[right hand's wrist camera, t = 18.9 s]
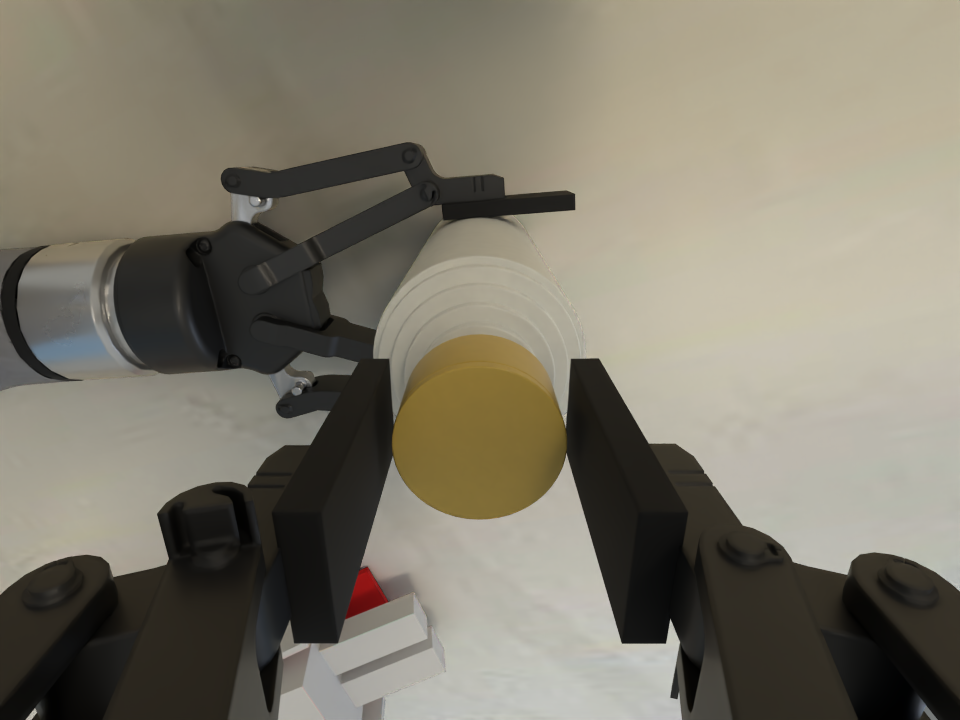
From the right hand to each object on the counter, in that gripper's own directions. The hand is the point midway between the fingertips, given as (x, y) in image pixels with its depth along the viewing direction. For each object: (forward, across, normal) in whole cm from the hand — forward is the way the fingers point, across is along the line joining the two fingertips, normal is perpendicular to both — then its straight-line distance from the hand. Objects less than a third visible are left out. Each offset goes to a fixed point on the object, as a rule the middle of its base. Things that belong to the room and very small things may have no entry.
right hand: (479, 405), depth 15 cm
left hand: (+15, -5, 0) cm, 16 cm away
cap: (-2, 0, 0) cm, 2 cm away
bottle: (+22, 0, 0) cm, 22 cm away
